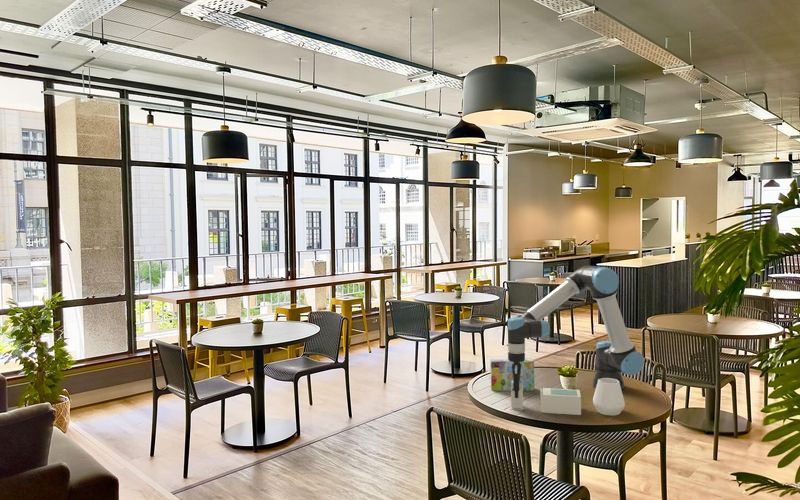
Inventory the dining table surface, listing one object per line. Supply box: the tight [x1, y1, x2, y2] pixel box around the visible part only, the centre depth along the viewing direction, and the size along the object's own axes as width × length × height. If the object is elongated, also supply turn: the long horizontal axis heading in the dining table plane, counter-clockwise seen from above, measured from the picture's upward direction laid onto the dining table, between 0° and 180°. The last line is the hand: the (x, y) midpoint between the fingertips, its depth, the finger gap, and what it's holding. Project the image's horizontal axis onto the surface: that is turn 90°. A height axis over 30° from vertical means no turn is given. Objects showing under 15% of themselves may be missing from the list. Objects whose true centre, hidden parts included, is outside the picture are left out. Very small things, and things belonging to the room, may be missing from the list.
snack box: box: [489, 358, 535, 392], centre depth 279 cm, size 21×6×15 cm, turn 84°
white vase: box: [592, 378, 626, 416], centre depth 244 cm, size 13×13×14 cm
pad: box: [509, 407, 524, 411], centre depth 253 cm, size 6×7×1 cm
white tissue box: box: [540, 387, 582, 416], centre depth 248 cm, size 17×10×8 cm, turn 76°
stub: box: [510, 380, 524, 409], centre depth 253 cm, size 5×4×11 cm
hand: (517, 402), depth 253 cm, fingers closed on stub, 4 cm apart
